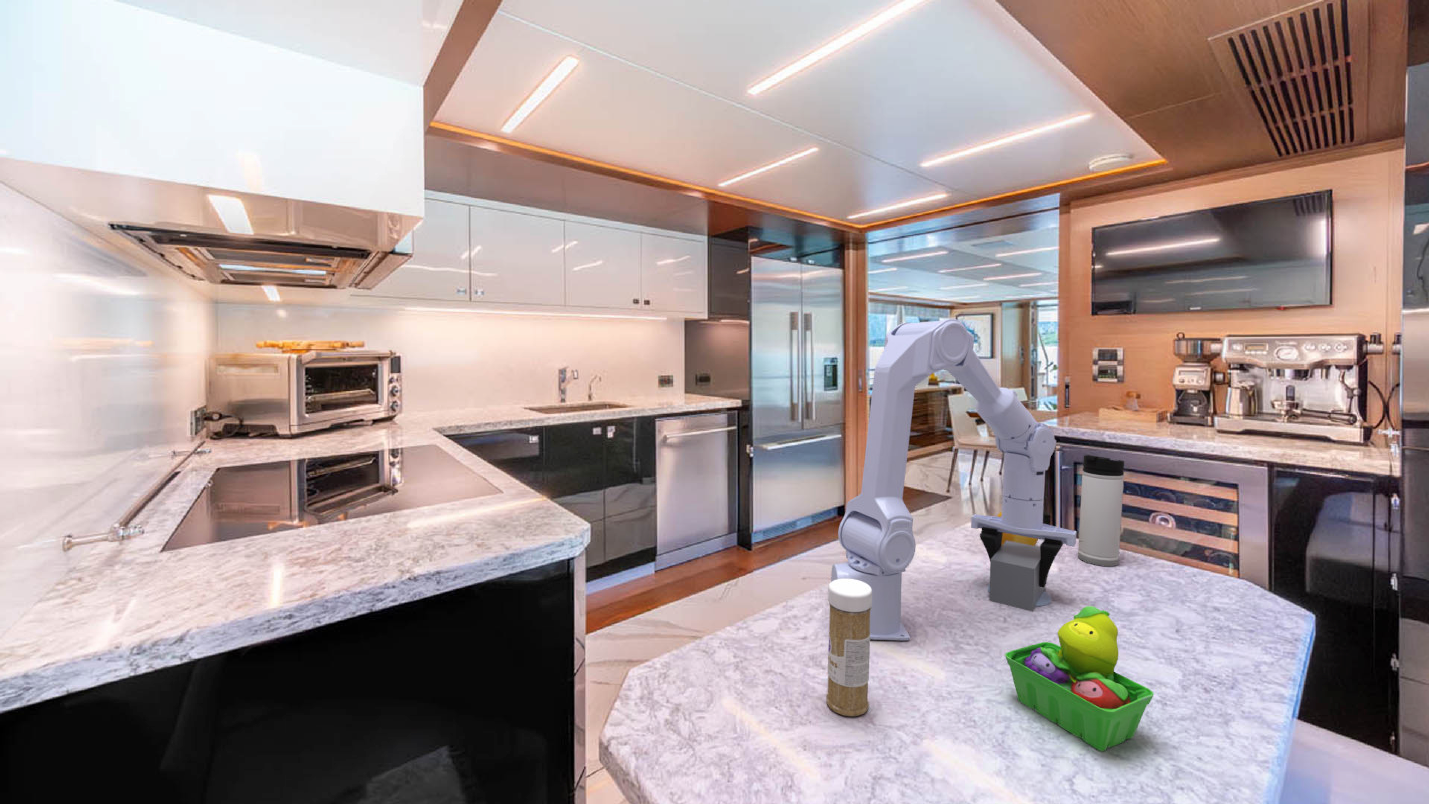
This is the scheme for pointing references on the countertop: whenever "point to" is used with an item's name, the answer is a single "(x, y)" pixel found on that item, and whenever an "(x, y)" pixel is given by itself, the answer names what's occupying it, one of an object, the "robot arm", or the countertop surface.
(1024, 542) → the fruit
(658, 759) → the countertop surface
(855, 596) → the spice jar
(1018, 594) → the grey rectangular block
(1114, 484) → the travel mug
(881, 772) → the countertop surface
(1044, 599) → the disc
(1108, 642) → the fruit basket
